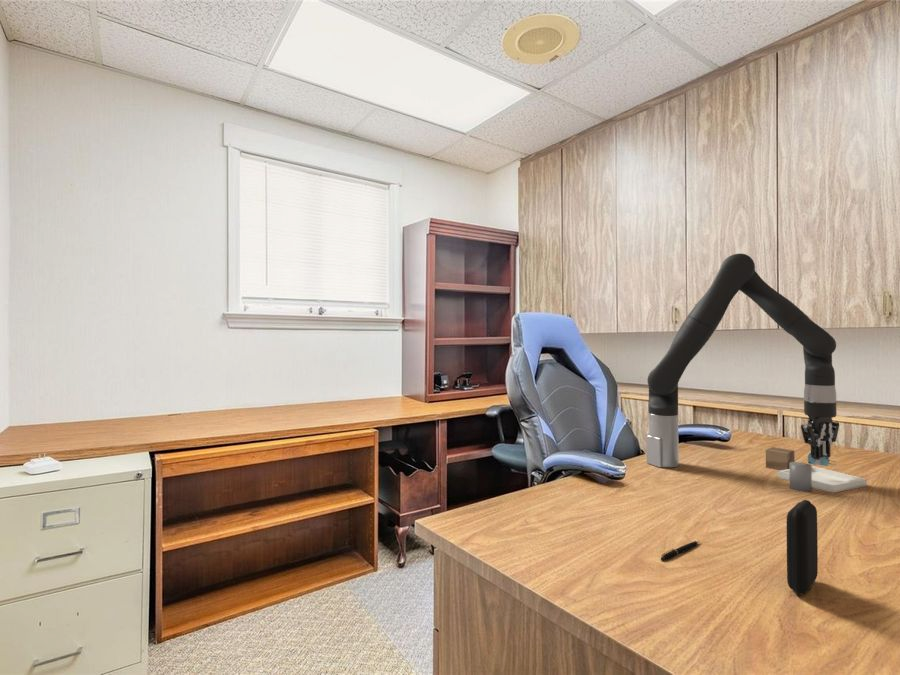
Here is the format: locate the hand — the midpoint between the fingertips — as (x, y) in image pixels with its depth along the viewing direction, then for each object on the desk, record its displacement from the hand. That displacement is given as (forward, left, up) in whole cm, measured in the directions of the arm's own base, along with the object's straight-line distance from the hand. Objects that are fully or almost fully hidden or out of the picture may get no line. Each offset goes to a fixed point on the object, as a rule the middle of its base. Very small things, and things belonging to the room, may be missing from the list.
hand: (820, 457), depth 137 cm
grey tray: (0, 0, -7) cm, 7 cm away
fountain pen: (-73, -18, -8) cm, 76 cm away
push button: (0, 0, -2) cm, 2 cm away
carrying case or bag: (-64, -36, -7) cm, 74 cm away
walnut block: (+3, +14, -7) cm, 16 cm away
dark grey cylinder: (-12, -2, -7) cm, 14 cm away
